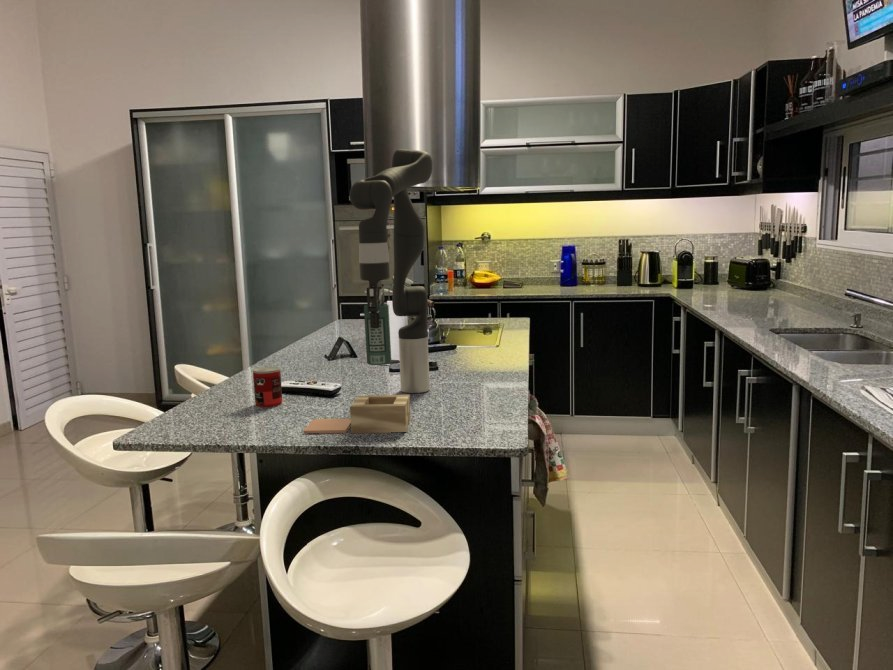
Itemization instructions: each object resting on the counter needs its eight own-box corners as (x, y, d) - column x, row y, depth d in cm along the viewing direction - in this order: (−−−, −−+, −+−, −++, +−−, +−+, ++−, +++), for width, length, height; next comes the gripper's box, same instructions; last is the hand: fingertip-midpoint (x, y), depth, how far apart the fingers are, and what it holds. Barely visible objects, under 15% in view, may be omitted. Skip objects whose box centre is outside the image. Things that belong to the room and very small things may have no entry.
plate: (313, 422, 192) (313, 419, 192) (353, 421, 192) (353, 418, 192) (303, 433, 182) (303, 430, 181) (345, 433, 181) (345, 430, 181)
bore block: (359, 420, 192) (358, 395, 191) (410, 419, 192) (409, 394, 190) (351, 433, 180) (349, 406, 179) (406, 432, 180) (404, 405, 179)
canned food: (254, 403, 216) (251, 367, 214) (280, 400, 219) (278, 365, 217) (256, 409, 209) (254, 372, 207) (284, 405, 212) (281, 369, 210)
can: (392, 360, 186) (389, 303, 184) (389, 364, 180) (386, 306, 178) (369, 360, 187) (366, 304, 184) (365, 365, 181) (362, 307, 178)
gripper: (385, 262, 172) (388, 330, 175) (392, 259, 186) (395, 322, 189) (354, 263, 172) (357, 330, 175) (364, 259, 187) (367, 322, 189)
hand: (377, 326), depth 182 cm, fingers closed on can, 6 cm apart
